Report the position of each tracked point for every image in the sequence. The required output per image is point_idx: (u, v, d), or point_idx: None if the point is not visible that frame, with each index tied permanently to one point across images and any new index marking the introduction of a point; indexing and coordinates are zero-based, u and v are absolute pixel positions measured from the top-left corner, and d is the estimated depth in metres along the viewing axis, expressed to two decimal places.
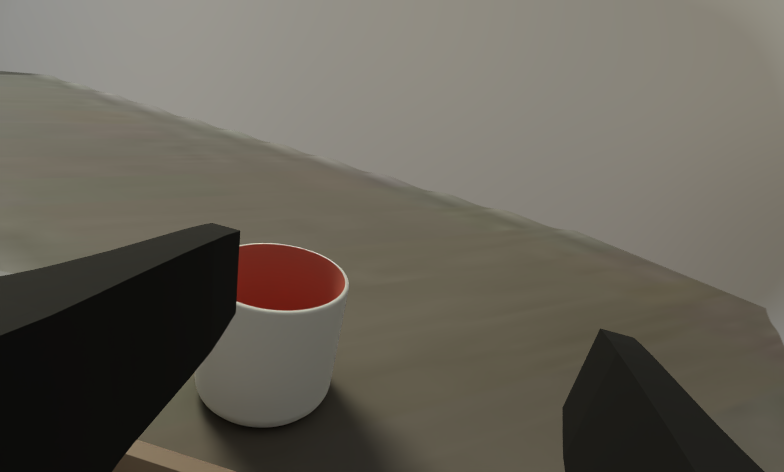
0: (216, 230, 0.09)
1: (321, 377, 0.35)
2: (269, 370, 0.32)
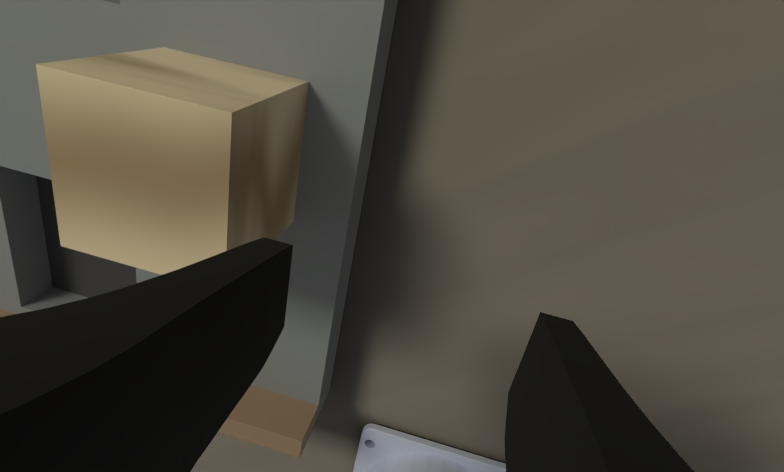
0: (271, 245, 0.09)
1: None
2: None
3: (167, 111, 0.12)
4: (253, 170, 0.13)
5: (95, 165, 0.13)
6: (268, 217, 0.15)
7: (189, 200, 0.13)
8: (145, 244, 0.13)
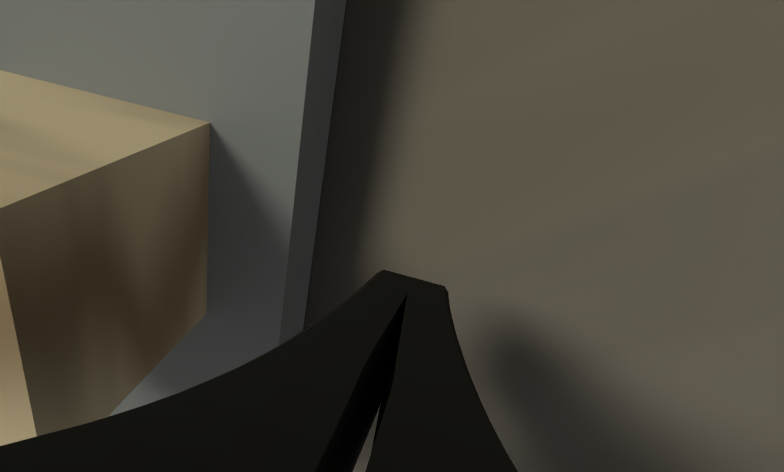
0: (397, 279, 0.09)
1: None
2: None
3: None
4: (89, 283, 0.08)
5: None
6: (145, 331, 0.10)
7: None
8: None
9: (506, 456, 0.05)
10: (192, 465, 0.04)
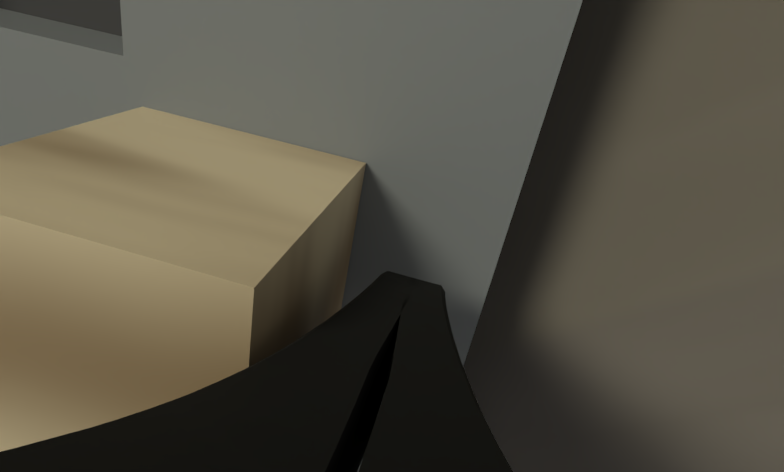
0: (401, 281, 0.09)
1: None
2: None
3: (129, 276, 0.06)
4: (287, 341, 0.08)
5: (4, 347, 0.07)
6: None
7: None
8: None
9: (500, 454, 0.05)
10: (202, 468, 0.04)
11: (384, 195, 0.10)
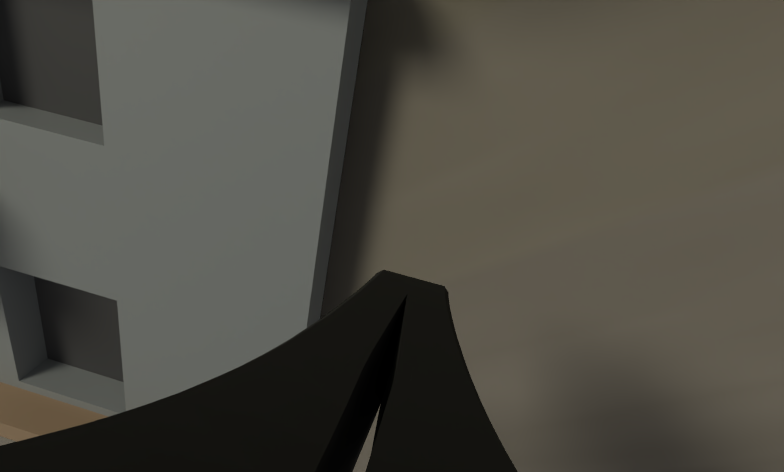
0: (397, 279, 0.09)
1: None
2: None
3: None
4: None
5: None
6: None
7: None
8: None
9: (506, 456, 0.05)
10: (192, 465, 0.04)
11: (251, 224, 0.18)
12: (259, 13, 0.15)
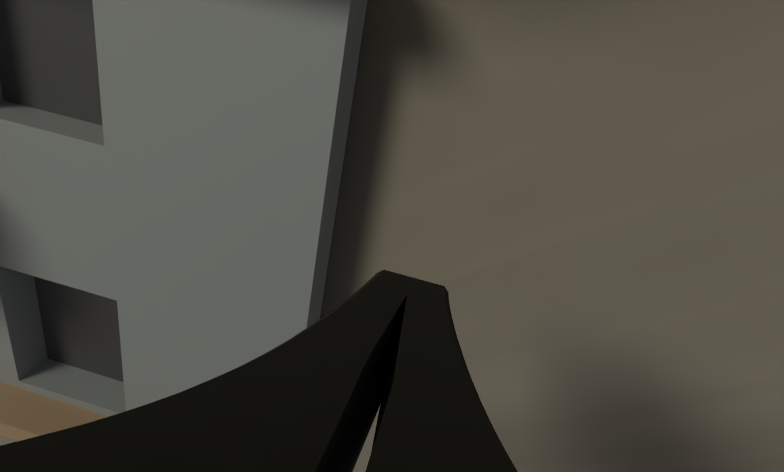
0: (397, 279, 0.09)
1: None
2: None
3: None
4: None
5: None
6: None
7: None
8: None
9: (506, 456, 0.05)
10: (192, 465, 0.04)
11: (251, 224, 0.18)
12: (259, 13, 0.15)
